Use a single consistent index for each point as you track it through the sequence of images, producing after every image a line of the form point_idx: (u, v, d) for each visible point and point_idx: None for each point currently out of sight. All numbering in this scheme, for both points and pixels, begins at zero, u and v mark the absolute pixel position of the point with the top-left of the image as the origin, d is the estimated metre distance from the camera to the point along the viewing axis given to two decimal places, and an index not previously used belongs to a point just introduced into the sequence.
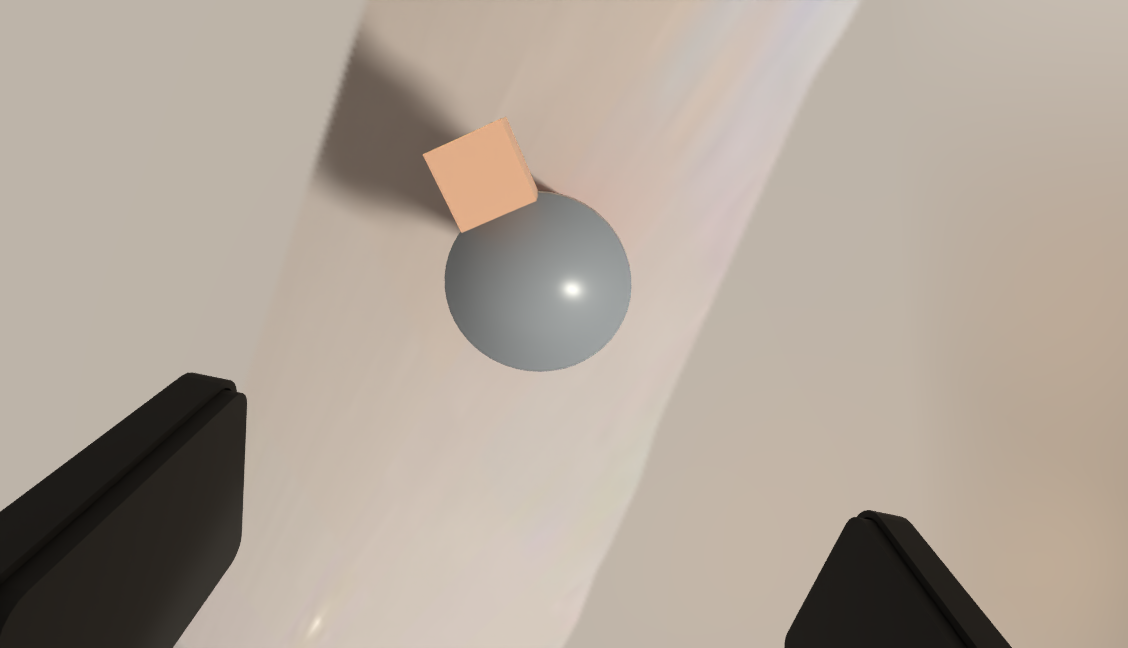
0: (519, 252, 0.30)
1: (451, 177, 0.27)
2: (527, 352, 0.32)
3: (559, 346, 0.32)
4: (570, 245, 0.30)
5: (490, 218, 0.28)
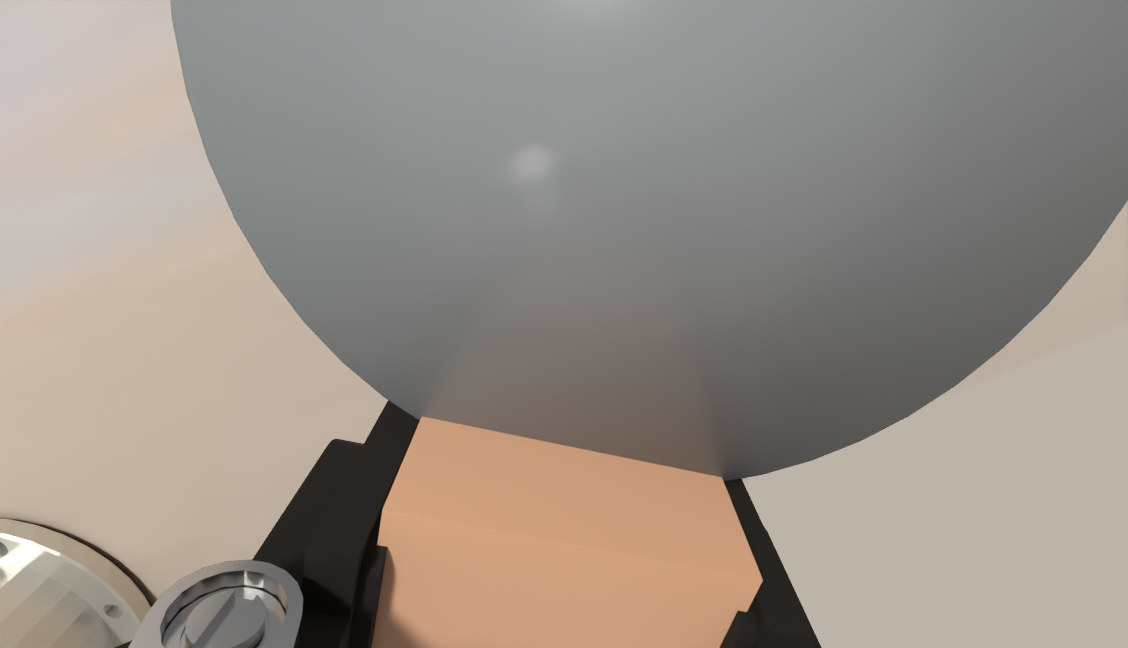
0: (634, 282, 0.07)
1: None
2: None
3: None
4: (417, 165, 0.06)
5: (613, 560, 0.06)
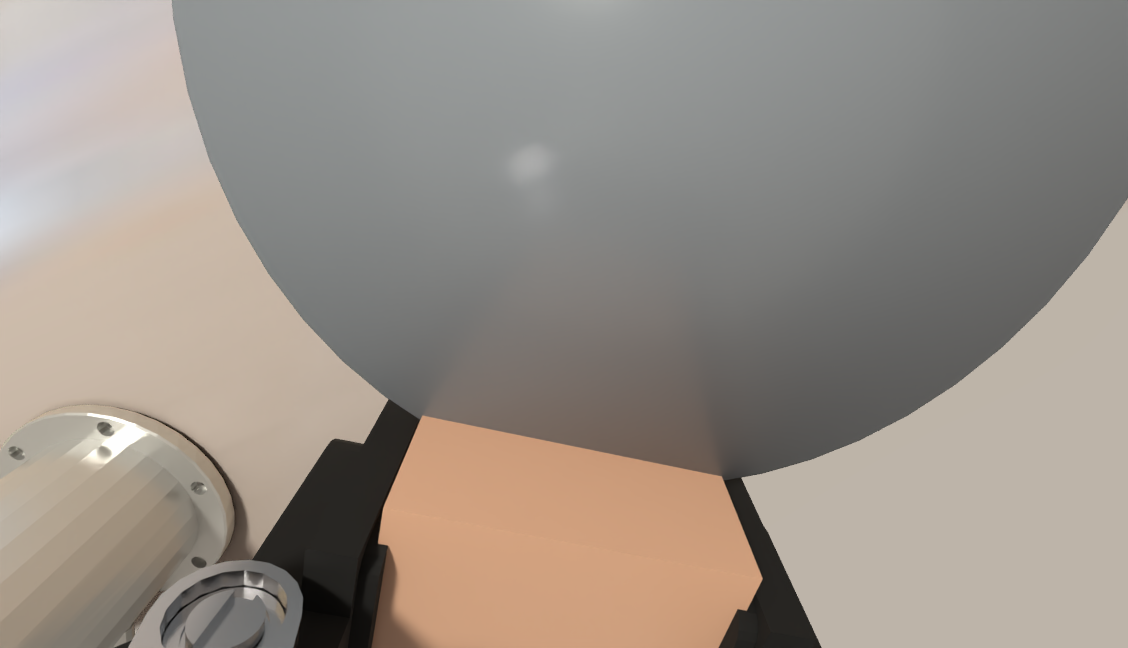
0: (634, 281, 0.07)
1: None
2: None
3: None
4: (417, 164, 0.06)
5: (613, 558, 0.06)
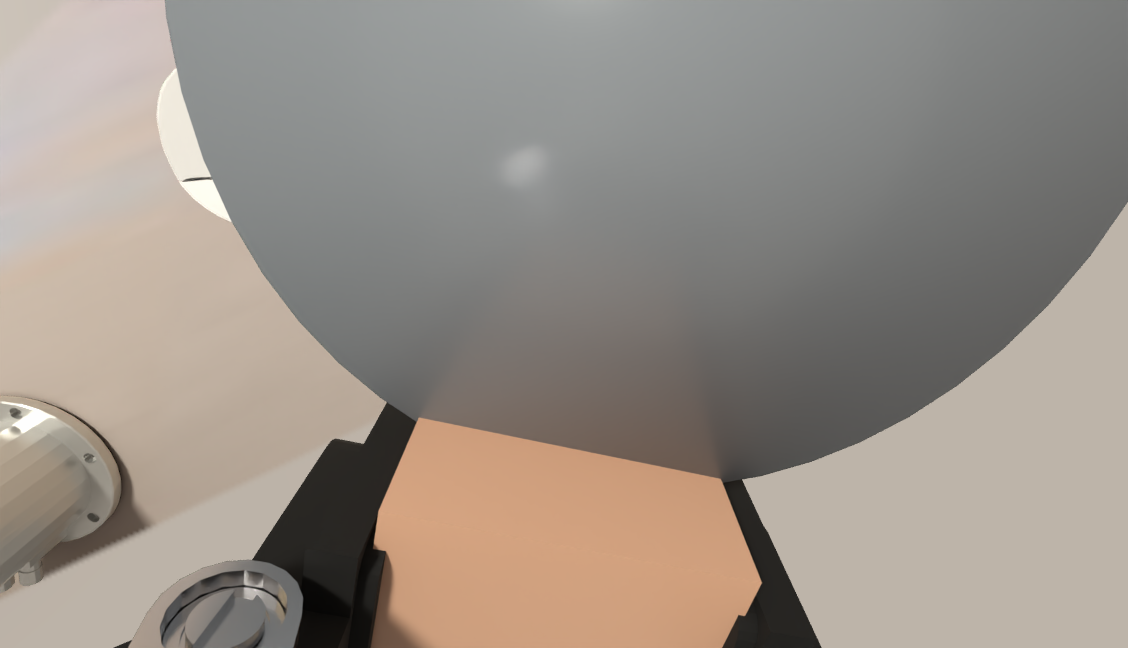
0: (633, 283, 0.06)
1: None
2: None
3: None
4: (413, 164, 0.06)
5: (610, 562, 0.06)
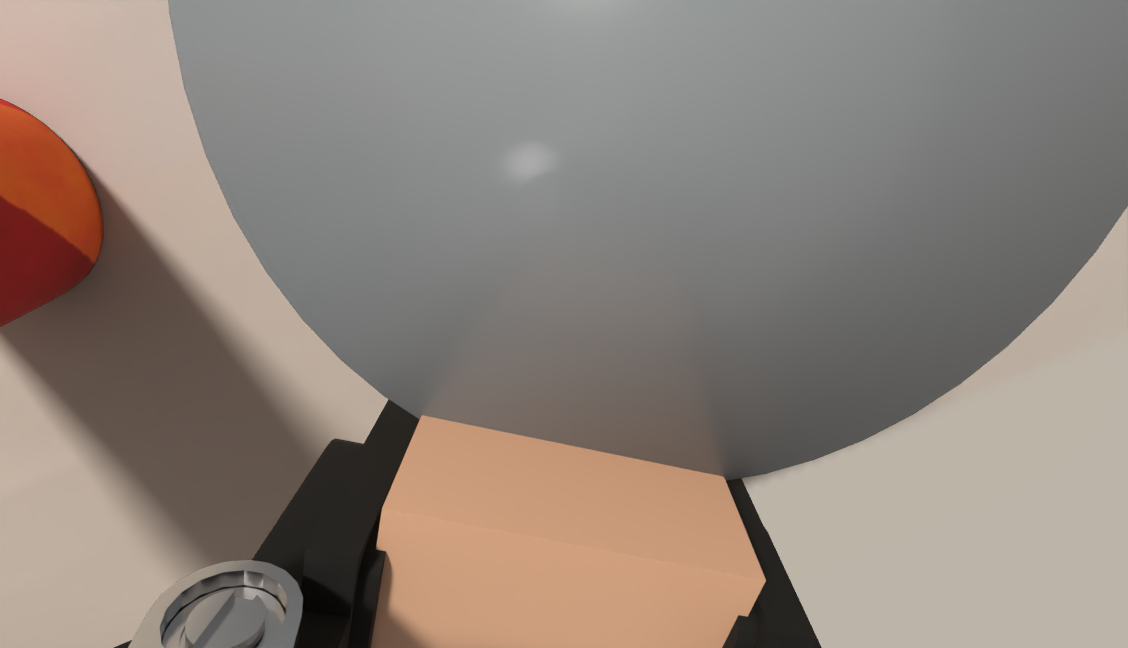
0: (636, 280, 0.06)
1: None
2: None
3: None
4: (417, 161, 0.06)
5: (614, 560, 0.06)
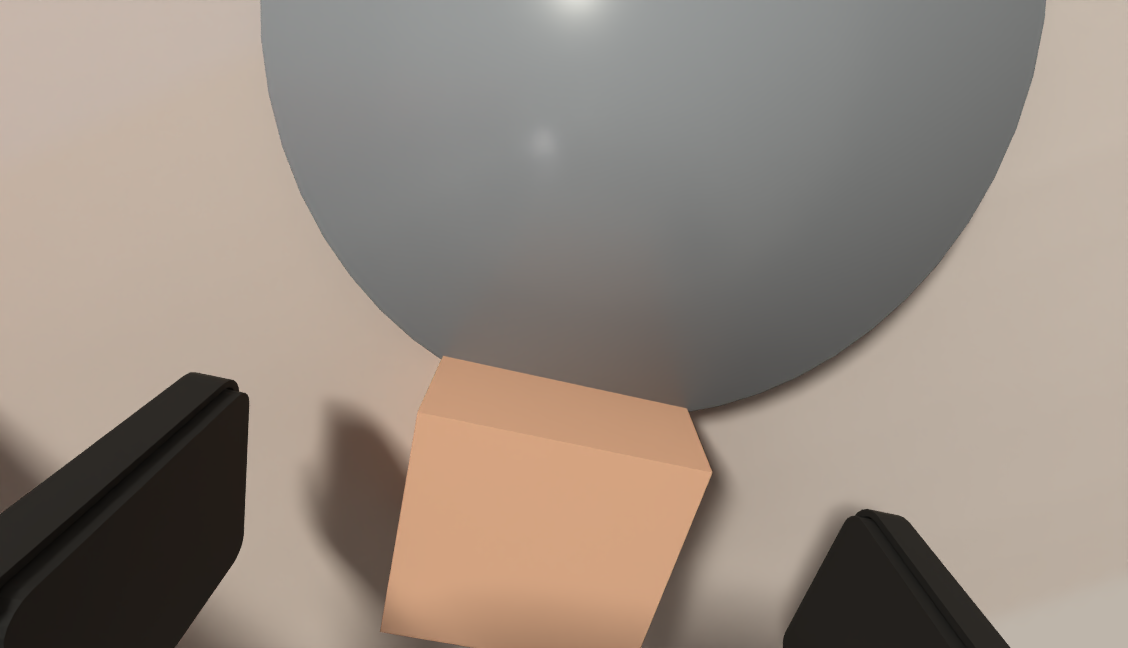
0: (613, 244, 0.08)
1: (608, 598, 0.09)
2: None
3: None
4: (444, 151, 0.08)
5: (595, 455, 0.08)
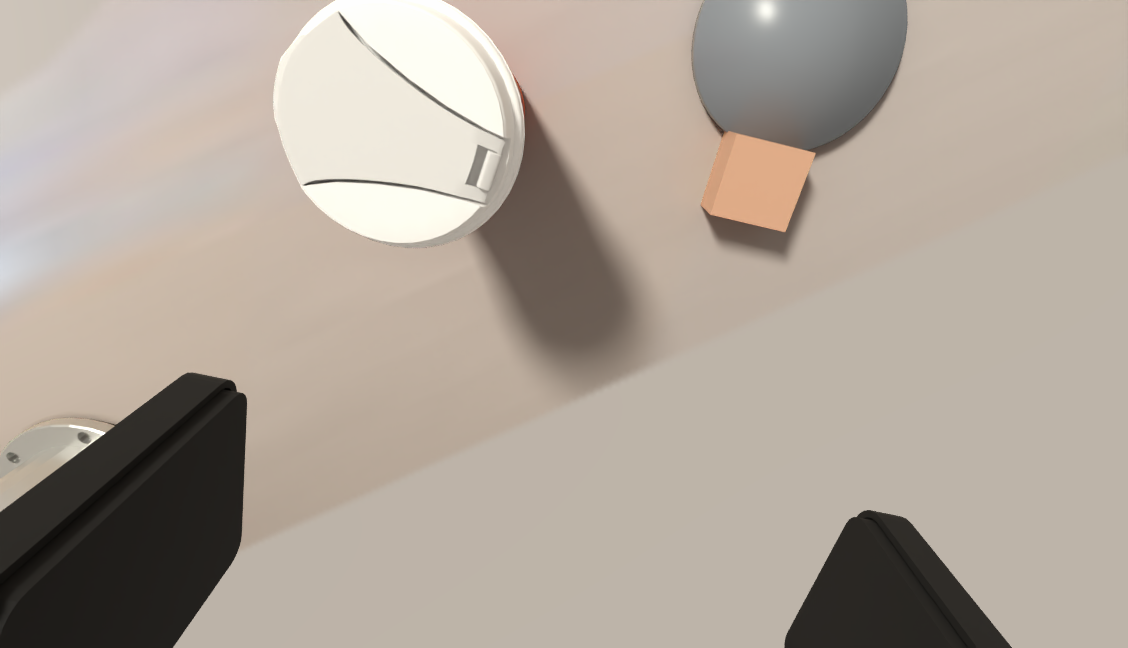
0: (784, 92, 0.28)
1: (781, 200, 0.29)
2: None
3: None
4: (739, 64, 0.28)
5: (783, 147, 0.28)
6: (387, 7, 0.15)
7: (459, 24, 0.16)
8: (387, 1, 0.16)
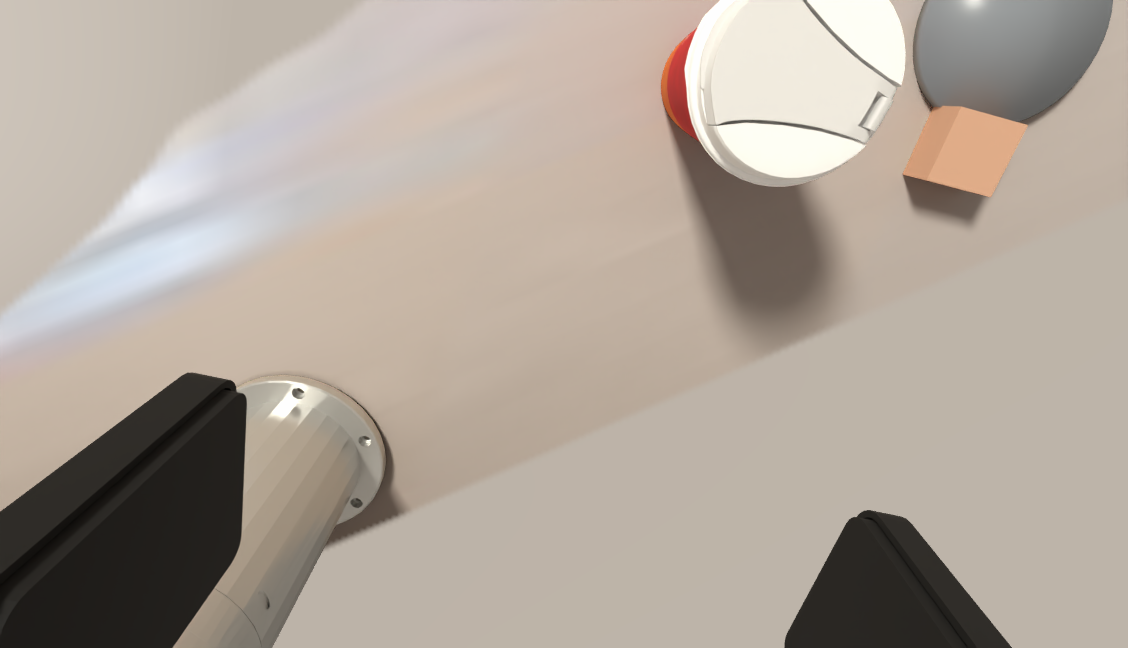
0: (996, 71, 0.32)
1: (991, 167, 0.32)
2: None
3: None
4: (960, 45, 0.31)
5: (1000, 119, 0.31)
6: None
7: None
8: None
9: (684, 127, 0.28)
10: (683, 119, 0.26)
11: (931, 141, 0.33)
